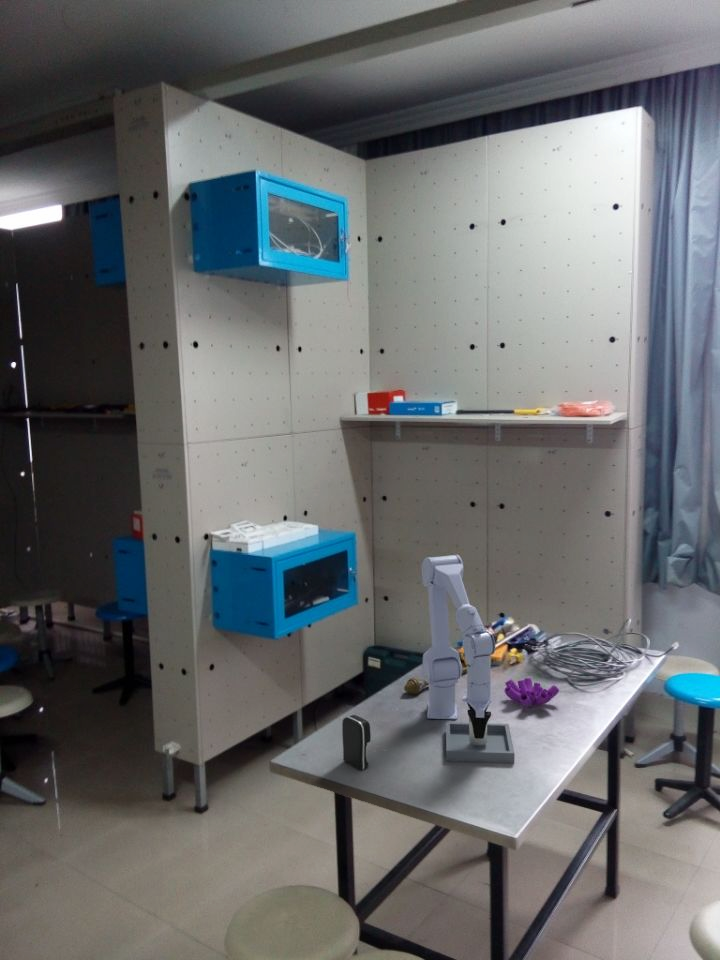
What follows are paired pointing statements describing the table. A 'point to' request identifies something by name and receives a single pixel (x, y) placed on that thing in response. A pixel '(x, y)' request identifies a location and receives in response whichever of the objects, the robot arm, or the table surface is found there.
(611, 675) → the table surface
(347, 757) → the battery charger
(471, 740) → the cylinder
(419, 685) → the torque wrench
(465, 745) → the tray
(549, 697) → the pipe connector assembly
